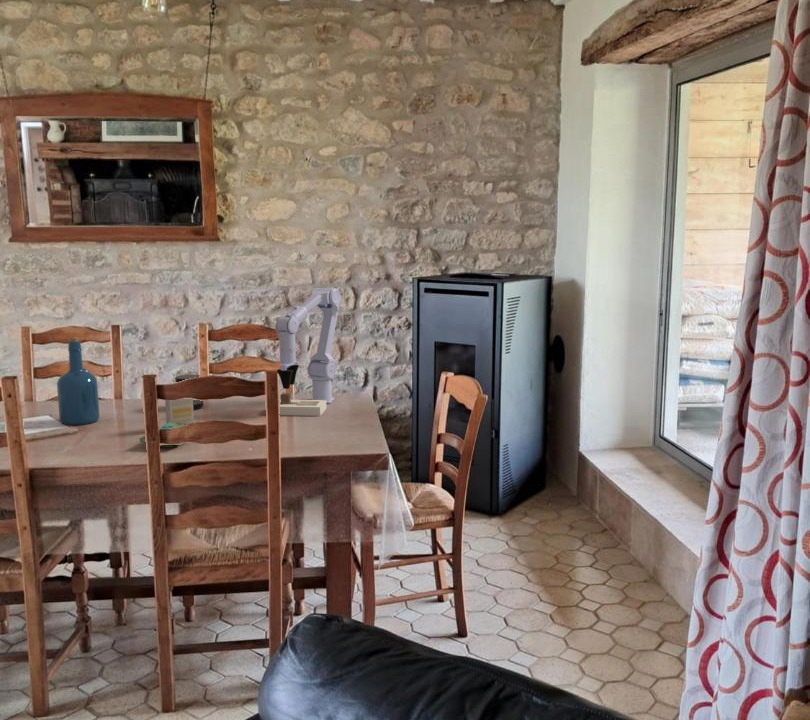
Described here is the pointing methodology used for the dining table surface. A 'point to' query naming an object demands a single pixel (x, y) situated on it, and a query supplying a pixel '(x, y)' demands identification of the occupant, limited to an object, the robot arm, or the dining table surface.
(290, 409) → the cream rectangular tray
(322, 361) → the robot arm
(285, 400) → the keyhole slider
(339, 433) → the dining table surface
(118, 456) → the dining table surface
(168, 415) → the supplement box
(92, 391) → the wine bottle
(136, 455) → the dining table surface
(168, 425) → the puzzle game
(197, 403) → the supplement container
